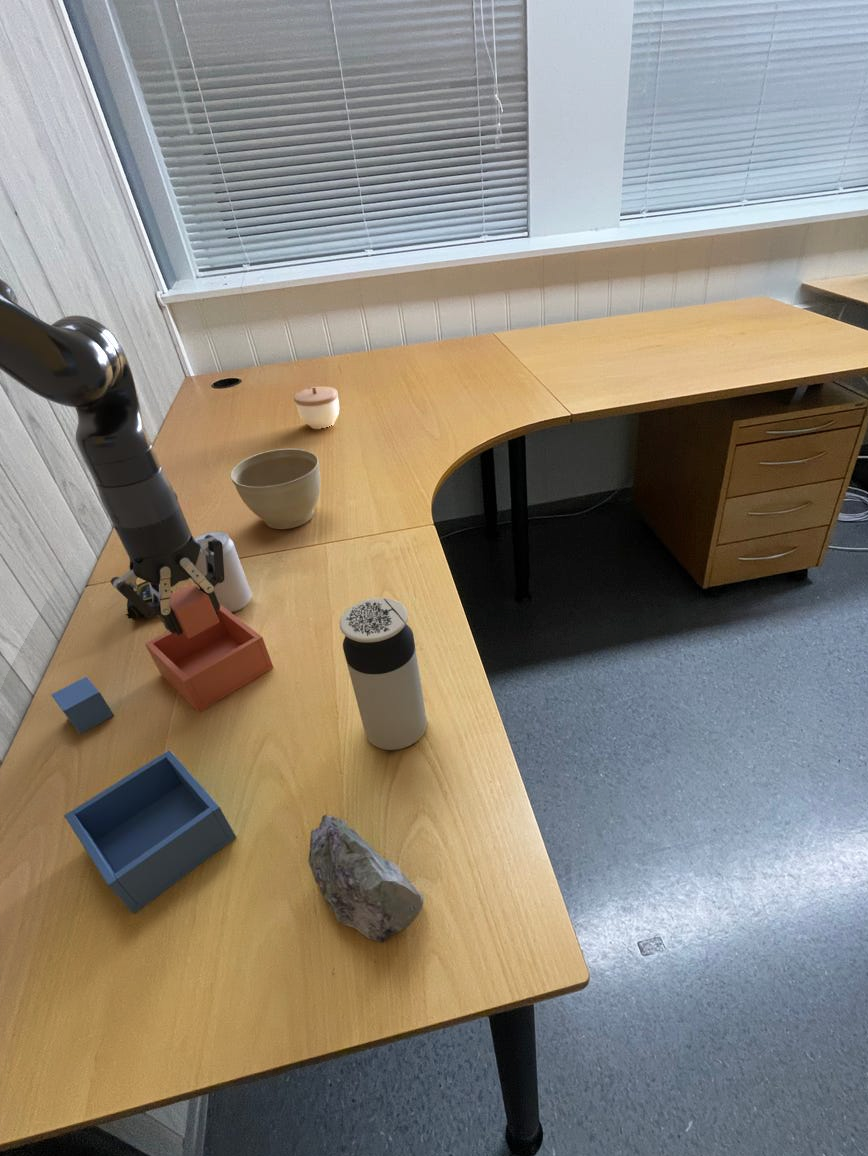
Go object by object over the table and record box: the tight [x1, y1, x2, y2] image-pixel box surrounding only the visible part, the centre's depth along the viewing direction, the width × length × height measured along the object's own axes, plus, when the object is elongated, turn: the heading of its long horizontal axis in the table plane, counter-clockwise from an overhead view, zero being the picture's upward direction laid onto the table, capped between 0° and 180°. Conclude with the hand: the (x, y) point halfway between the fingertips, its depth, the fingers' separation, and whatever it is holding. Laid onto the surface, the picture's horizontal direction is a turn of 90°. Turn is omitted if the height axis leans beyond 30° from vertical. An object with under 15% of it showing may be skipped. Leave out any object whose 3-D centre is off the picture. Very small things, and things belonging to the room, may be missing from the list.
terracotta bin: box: [144, 605, 274, 713], centre depth 88 cm, size 12×12×6 cm
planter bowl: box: [230, 448, 321, 530], centre depth 119 cm, size 16×16×11 cm
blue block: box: [50, 676, 115, 735], centre depth 82 cm, size 4×4×4 cm
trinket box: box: [293, 386, 340, 430], centre depth 156 cm, size 11×11×9 cm
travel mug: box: [339, 597, 428, 751], centre depth 74 cm, size 8×8×18 cm
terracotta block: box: [170, 582, 219, 639], centre depth 82 cm, size 4×4×4 cm
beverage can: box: [193, 531, 253, 613], centre depth 98 cm, size 6×6×12 cm
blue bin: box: [63, 749, 237, 915], centre depth 67 cm, size 12×12×6 cm
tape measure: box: [125, 580, 173, 621], centre depth 101 cm, size 7×7×4 cm
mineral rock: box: [308, 814, 424, 943], centre depth 60 cm, size 13×11×10 cm
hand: (195, 622), depth 84 cm, fingers closed on terracotta block, 4 cm apart
